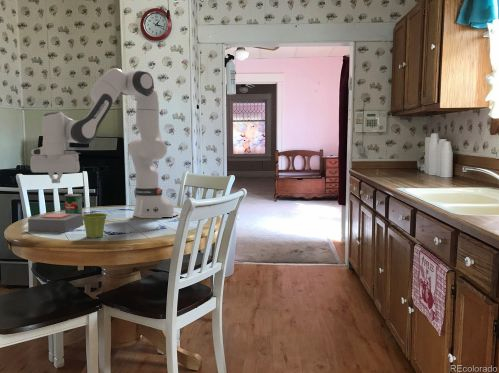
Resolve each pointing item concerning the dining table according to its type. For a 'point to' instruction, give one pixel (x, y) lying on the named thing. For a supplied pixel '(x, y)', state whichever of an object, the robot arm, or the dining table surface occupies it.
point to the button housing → (55, 223)
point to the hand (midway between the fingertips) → (56, 183)
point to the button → (56, 216)
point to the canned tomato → (73, 203)
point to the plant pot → (94, 224)
